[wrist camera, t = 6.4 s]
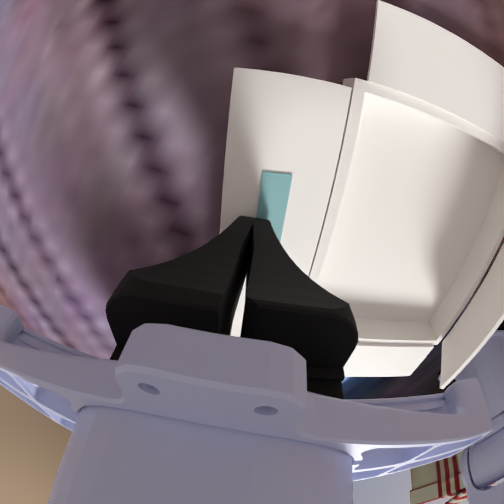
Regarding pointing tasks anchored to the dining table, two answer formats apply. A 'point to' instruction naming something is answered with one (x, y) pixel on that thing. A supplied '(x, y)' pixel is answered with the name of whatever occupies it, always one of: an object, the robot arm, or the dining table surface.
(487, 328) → the flap
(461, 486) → the gift box
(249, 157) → the flap
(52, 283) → the dining table surface
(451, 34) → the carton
